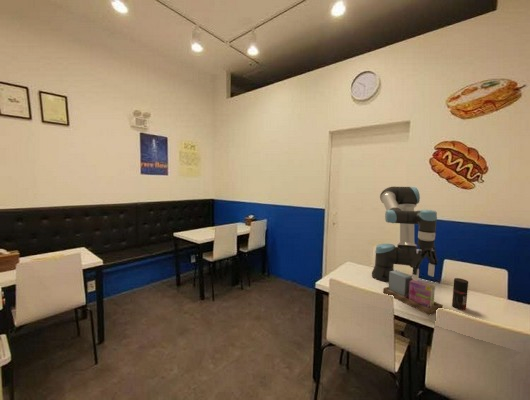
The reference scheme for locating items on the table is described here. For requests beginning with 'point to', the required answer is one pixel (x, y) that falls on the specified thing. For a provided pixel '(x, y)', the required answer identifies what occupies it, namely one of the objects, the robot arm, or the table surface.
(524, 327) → the table surface
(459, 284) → the deodorant
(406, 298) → the tray
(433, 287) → the box
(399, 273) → the matte grey rectangular block
